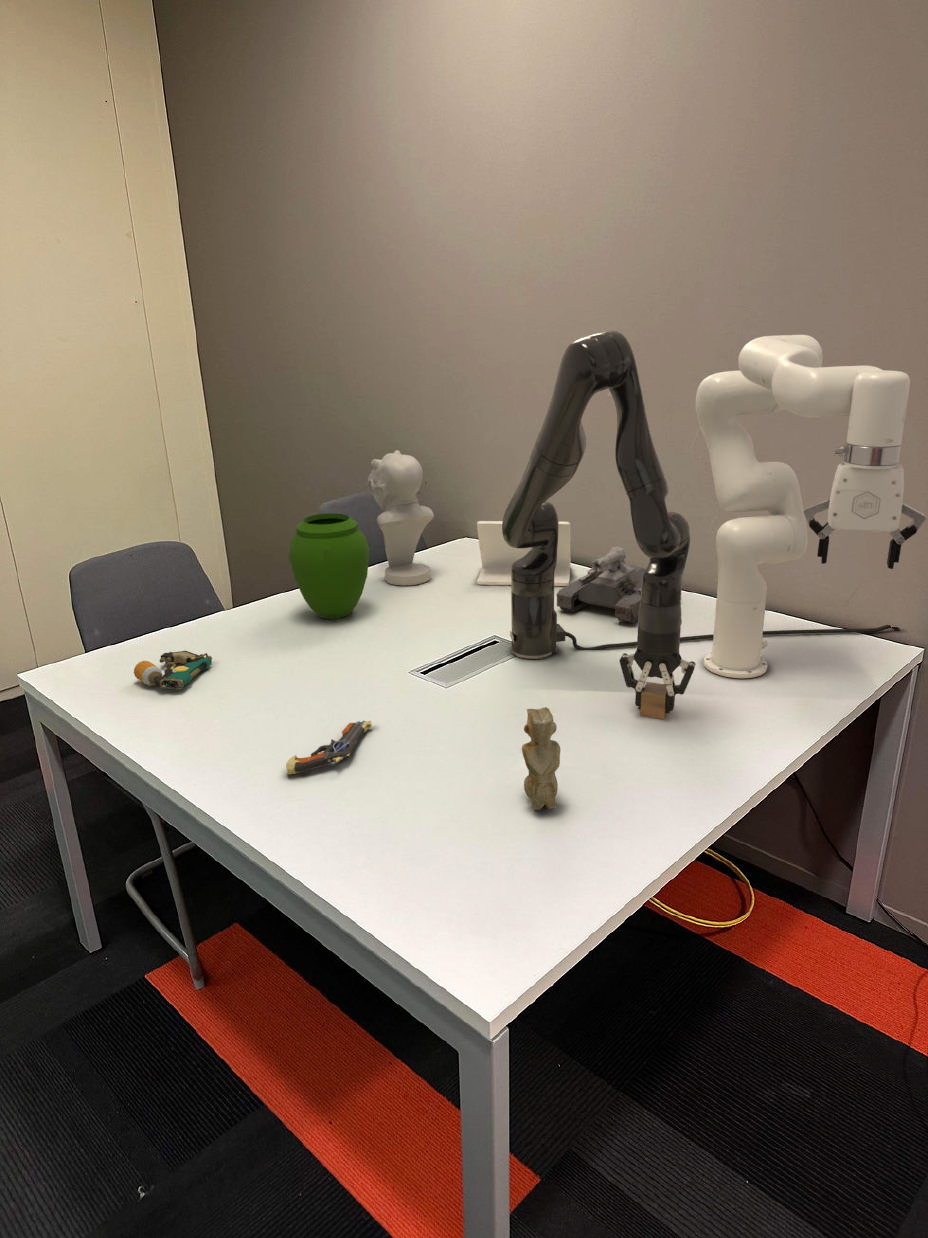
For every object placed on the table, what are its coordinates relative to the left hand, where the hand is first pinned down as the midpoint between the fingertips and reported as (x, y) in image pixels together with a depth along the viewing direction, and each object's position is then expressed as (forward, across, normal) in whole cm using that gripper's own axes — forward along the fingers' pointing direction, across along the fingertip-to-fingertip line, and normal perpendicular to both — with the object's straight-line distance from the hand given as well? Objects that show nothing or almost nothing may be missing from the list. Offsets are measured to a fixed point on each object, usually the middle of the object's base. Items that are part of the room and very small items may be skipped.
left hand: (654, 709), depth 159 cm
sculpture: (+1, -11, -36) cm, 38 cm away
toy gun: (0, -50, -33) cm, 60 cm away
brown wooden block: (0, 0, 0) cm, 0 cm away
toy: (0, -19, +56) cm, 59 cm away
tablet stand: (0, -48, +72) cm, 87 cm away
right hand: (-32, +31, -2) cm, 44 cm away
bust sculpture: (0, -82, +61) cm, 102 cm away
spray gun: (0, -98, -15) cm, 99 cm away
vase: (0, -84, +28) cm, 89 cm away
